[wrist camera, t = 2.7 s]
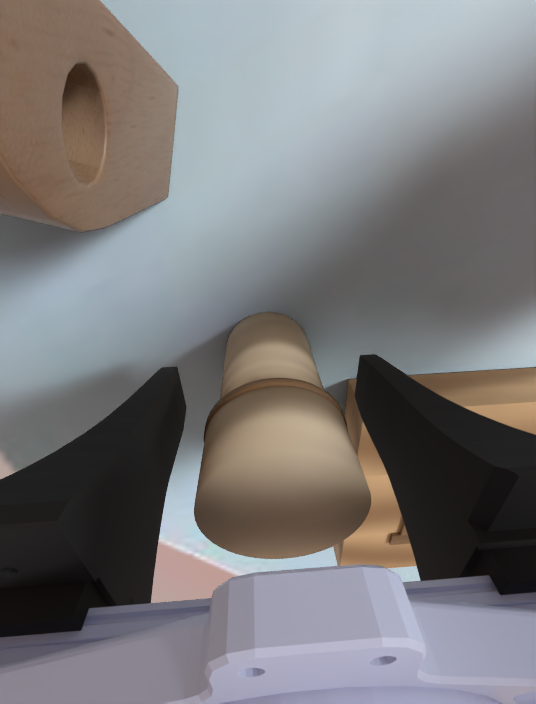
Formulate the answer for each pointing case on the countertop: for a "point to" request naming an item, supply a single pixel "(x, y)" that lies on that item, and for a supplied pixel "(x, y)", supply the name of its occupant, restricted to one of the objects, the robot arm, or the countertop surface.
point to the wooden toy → (80, 116)
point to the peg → (277, 450)
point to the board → (384, 515)
